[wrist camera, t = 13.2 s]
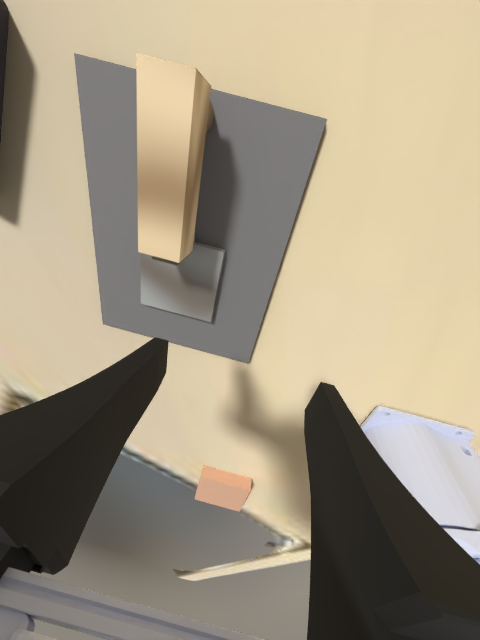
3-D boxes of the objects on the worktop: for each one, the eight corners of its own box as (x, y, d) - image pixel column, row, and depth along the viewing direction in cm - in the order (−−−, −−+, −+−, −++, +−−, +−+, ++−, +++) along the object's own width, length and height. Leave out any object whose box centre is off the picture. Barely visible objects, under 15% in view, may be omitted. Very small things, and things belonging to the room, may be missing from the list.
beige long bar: (145, 77, 13) (91, 40, 9) (252, 105, 13) (241, 79, 9) (144, 300, 21) (113, 328, 17) (212, 318, 21) (197, 351, 17)
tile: (250, 490, 33) (239, 511, 37) (252, 475, 35) (241, 496, 38) (200, 477, 33) (194, 499, 37) (204, 462, 35) (198, 484, 38)
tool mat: (325, 120, 13) (327, 118, 13) (248, 359, 23) (248, 363, 23) (80, 56, 14) (74, 53, 13) (106, 321, 23) (102, 324, 23)
